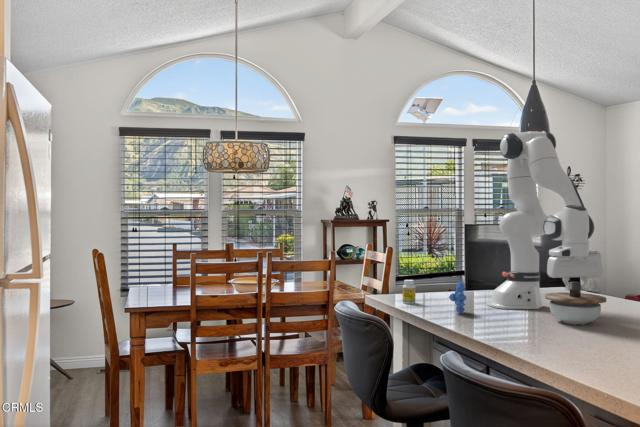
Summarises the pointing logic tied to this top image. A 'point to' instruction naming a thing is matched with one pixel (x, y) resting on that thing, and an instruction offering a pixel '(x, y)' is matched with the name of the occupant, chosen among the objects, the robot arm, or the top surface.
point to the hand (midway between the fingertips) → (574, 290)
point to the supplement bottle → (409, 292)
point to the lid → (575, 296)
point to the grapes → (459, 297)
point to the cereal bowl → (575, 312)
